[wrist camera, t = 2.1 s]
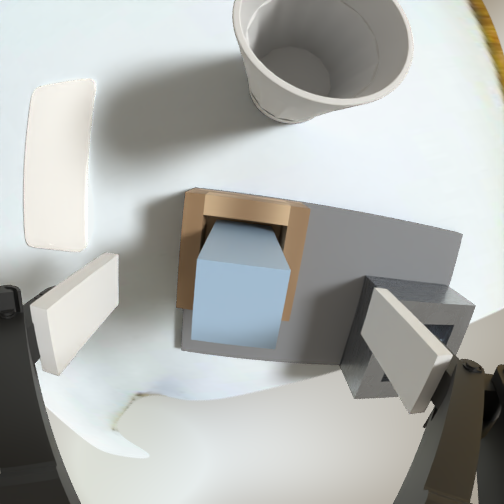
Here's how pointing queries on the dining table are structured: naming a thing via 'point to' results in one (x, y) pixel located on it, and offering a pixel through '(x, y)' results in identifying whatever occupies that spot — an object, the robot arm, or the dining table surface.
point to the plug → (240, 286)
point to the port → (423, 308)
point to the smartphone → (58, 165)
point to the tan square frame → (240, 210)
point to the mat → (342, 280)
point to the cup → (321, 53)
